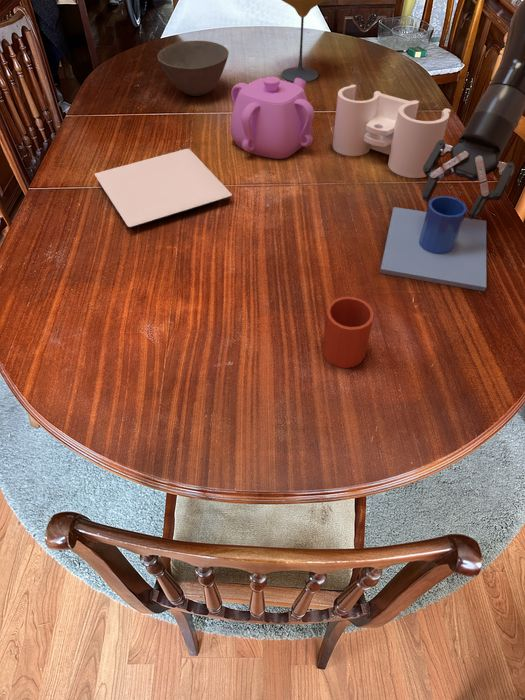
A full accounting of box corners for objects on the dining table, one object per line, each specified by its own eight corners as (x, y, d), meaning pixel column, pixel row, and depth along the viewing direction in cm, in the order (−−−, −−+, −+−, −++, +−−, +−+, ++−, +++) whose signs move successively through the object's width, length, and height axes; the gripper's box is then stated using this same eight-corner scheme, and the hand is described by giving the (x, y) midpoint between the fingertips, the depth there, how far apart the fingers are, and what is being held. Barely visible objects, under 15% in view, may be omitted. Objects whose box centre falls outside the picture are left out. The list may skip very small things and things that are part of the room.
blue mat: (484, 225, 100) (486, 220, 99) (484, 291, 87) (486, 287, 86) (392, 211, 103) (393, 206, 102) (379, 273, 91) (380, 268, 90)
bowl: (174, 76, 148) (169, 38, 141) (237, 81, 146) (235, 42, 138) (153, 104, 136) (146, 64, 129) (220, 109, 134) (218, 69, 126)
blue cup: (454, 236, 96) (467, 199, 90) (453, 256, 92) (466, 219, 86) (420, 230, 97) (430, 193, 91) (417, 250, 93) (427, 213, 87)
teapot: (233, 163, 116) (230, 99, 105) (229, 121, 129) (225, 60, 118) (316, 159, 117) (321, 95, 106) (303, 118, 130) (306, 57, 119)
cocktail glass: (282, 59, 156) (284, -41, 137) (338, 68, 151) (349, -35, 132) (259, 82, 145) (258, -24, 126) (318, 92, 140) (327, -16, 122)
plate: (233, 203, 105) (232, 194, 104) (130, 235, 98) (128, 226, 97) (189, 155, 118) (188, 147, 117) (96, 181, 111) (93, 172, 110)
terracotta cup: (367, 340, 80) (376, 301, 74) (361, 372, 76) (370, 333, 69) (326, 332, 81) (331, 293, 75) (318, 362, 77) (322, 324, 71)
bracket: (324, 150, 119) (328, 97, 110) (344, 134, 125) (350, 82, 115) (422, 183, 110) (436, 128, 101) (440, 164, 115) (455, 110, 106)
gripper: (452, 99, 86) (406, 189, 89) (536, 123, 81) (485, 218, 84) (456, 119, 93) (414, 201, 96) (534, 142, 87) (486, 229, 90)
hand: (447, 209), depth 90 cm, fingers open, 8 cm apart
